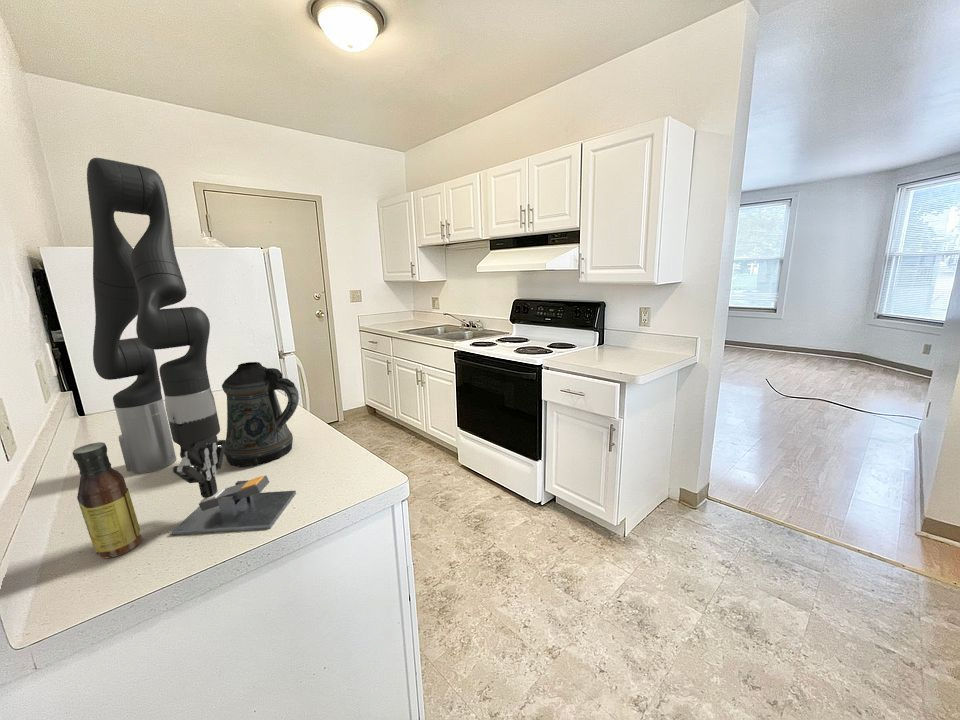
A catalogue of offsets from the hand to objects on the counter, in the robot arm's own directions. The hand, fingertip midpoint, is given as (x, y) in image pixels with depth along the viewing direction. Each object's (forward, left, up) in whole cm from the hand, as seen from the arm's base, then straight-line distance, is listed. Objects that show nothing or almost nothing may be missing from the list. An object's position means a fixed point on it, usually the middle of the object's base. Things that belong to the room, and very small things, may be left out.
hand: (210, 495), depth 79 cm
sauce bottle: (-11, -9, -5) cm, 15 cm away
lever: (+5, 0, 0) cm, 5 cm away
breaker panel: (+5, 0, -4) cm, 6 cm away
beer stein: (-3, +29, -5) cm, 30 cm away
